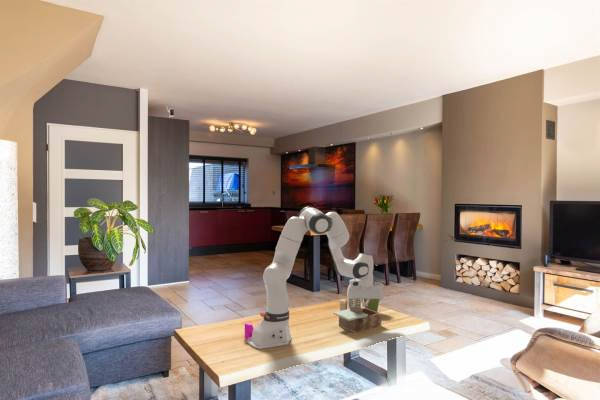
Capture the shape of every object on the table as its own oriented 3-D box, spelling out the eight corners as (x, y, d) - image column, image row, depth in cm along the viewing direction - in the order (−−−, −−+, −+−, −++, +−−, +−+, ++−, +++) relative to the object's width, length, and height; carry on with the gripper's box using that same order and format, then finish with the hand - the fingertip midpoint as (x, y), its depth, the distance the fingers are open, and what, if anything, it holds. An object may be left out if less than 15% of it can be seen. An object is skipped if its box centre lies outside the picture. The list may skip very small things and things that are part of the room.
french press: (354, 305, 247) (354, 268, 246) (367, 310, 237) (367, 270, 237) (343, 308, 241) (343, 269, 241) (356, 312, 232) (356, 272, 231)
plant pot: (378, 309, 239) (379, 291, 239) (382, 315, 227) (383, 297, 227) (360, 308, 239) (360, 291, 239) (363, 315, 227) (363, 296, 227)
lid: (349, 320, 195) (349, 314, 195) (333, 314, 206) (333, 308, 206) (367, 316, 203) (367, 309, 203) (351, 310, 213) (351, 304, 213)
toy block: (264, 329, 203) (264, 315, 203) (271, 332, 199) (271, 318, 199) (241, 336, 193) (241, 322, 192) (249, 340, 188) (249, 325, 188)
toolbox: (354, 333, 198) (355, 319, 197) (338, 326, 208) (338, 313, 208) (381, 325, 209) (381, 313, 209) (364, 319, 220) (364, 307, 220)
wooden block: (344, 321, 215) (345, 301, 215) (339, 320, 217) (339, 300, 217) (347, 320, 218) (347, 299, 218) (342, 319, 220) (342, 299, 220)
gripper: (382, 280, 214) (382, 304, 214) (346, 280, 214) (346, 304, 214) (384, 283, 207) (384, 308, 207) (348, 282, 208) (347, 307, 208)
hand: (364, 306), depth 211 cm, fingers closed
